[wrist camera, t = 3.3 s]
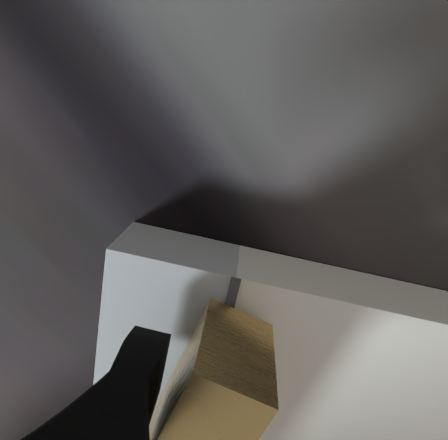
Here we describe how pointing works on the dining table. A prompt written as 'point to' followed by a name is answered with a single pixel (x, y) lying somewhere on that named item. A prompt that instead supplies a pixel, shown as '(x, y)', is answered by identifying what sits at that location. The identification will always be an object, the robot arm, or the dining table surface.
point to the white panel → (292, 331)
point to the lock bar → (220, 381)
